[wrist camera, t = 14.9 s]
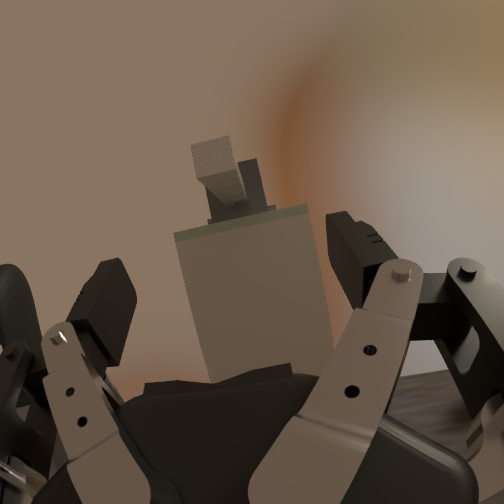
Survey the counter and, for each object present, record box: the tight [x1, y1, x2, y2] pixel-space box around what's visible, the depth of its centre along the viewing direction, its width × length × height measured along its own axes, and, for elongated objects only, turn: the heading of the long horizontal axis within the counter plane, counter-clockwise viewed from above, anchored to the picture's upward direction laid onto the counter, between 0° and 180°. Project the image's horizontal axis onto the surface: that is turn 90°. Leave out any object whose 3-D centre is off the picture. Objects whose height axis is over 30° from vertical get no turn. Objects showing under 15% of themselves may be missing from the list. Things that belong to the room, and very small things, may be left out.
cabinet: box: [174, 204, 335, 384], centre depth 40 cm, size 16×14×33 cm
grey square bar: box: [191, 136, 268, 224], centre depth 29 cm, size 24×6×6 cm, turn 179°
